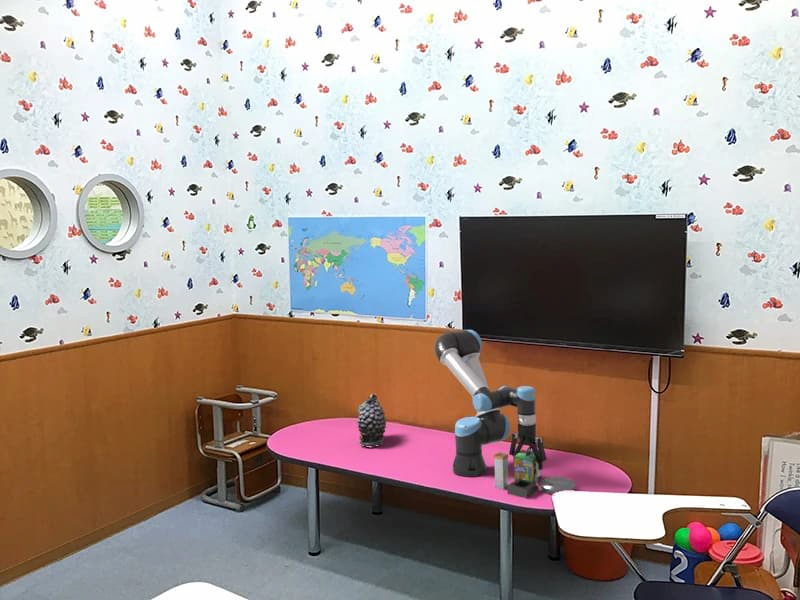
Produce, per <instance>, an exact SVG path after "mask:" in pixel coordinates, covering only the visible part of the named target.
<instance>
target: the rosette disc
mask: <svg viewBox="0 0 800 600" xmlns="http://www.w3.org/2000/svg"><path fill="white" fill-rule="evenodd" d="M539 485H540V486H539V487H540V491H541V492H543V493H544V494H547V495H549V496H553V495H552V494H553V493H555V492H559V491H563V490H575V491H576V482H575V481H574V480H573V479H571V478H568V477H563V476H550V477H545V478H543V479H540V484H539Z"/></svg>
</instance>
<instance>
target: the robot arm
mask: <svg viewBox="0 0 800 600" xmlns="http://www.w3.org/2000/svg"><path fill="white" fill-rule="evenodd" d="M482 345H483V343H482V339H481V337H480V335H479V334H478V333H477V331H474V330H473V329H462V330H457V331H451V332H450V331H449V332H445V333H442V334H441V335H440V336H438V338H437V339H436V341H435V342H434V354H435V356H436V358H437V360H438V362H439V363H441V364H442V365H443V366H446V367H447V368H448V369H449V371H450V372H451V373H452V375H454V377H455V378H456V379H457V381H459V383H460V384H461V385H462V386H463V387H464V389H465V390H466V391H467V392H468V393H469V394H470V395H471V398H472V405H473V408H474V409H475V410H476V414H475V416H470V417H469V416H467V417H463V418H460V419H458V420H457V421H456V422H455V426H454V435H455V436H454V437H455V457H454V460H453V463H452V473H454V475H457V476H460V477H470V478H471V477H478V476H482V475H484V474H486V473H487V463H486V461H485V458H484V455H483V446H486V445H489V444H494V443H499V442H501V441H505V440H506V439H507V438H508V437H509V435H510V432H511V423H510V419H509V418H508V417H507V415H506V414H504V413H501V411H500V409H501V408H505V407H509V406H512V407H514V408H517V411H516V412H517V413H516V414H517V431H518V433H517V432H514V433H511V438H512V439H511V443H510V448H509V451H508V452H509V453H508V455H509V456H511V457H513V461H514V456H515V455H516V454H517V453H519V452H520V451H521V450H522V449H523V446H524V445H526V446H529V447H530V448H531V451H533V453H534V455H535V457H536V459H537V462H536V477H540V476H542V469H543V463H544V462H546V461H547V455H546V451H545V447H544V443H543V442H544V441H543V439H544V438H543V437H538V436H537V434H536V433H537V424H536V421H537V417H536V416H537V415H536V392H535V388H534V387H533V386H528V385H522V386H518V387H517V388H514V387H512V386H507V385H503V386H501V387H499V388H498V389H496V390H492V391H491V390H490V388H489V385H488V382H487V379H486V377H485V373H484V371H483V367H482V365H481V362H480V359H479V358H480V356H481V351H482V348H483V346H482ZM518 439H519V441H518ZM517 442H518V444H517Z"/></svg>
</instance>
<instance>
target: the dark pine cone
mask: <svg viewBox="0 0 800 600" xmlns="http://www.w3.org/2000/svg"><path fill="white" fill-rule="evenodd" d="M357 413H358V418H357V419H356V424H357V426H358V427H357V428H358V431H359V433H360V435H359V438H358V440H359V444H362V445H364V446H376V445H380V444H382V443H384V440H385V435H384V434H385V433H386V430H385V429H386V428H387V426H386V425H387V421H386V420H387V419H386V417H385V415H386V414H385V412H384V408H383V407H382V403H380V402H379V400H378V395H377V394H376V393H375V392H372V394H370V396H368V397H367V398H366V399H365V400H364V402H363V403H361V404H360V405H358V409H357ZM382 445H383V444H382ZM380 446H381V445H380Z"/></svg>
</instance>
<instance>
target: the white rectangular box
mask: <svg viewBox="0 0 800 600" xmlns="http://www.w3.org/2000/svg"><path fill="white" fill-rule="evenodd" d="M493 459H494V463H493V464H494V488H496V489H500V490H506V489H508V488H507V485H509V484H510V483H509V460H508V459H509V453H508V454H507V453H505V452H497V453H495V454H494V455H493Z"/></svg>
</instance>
